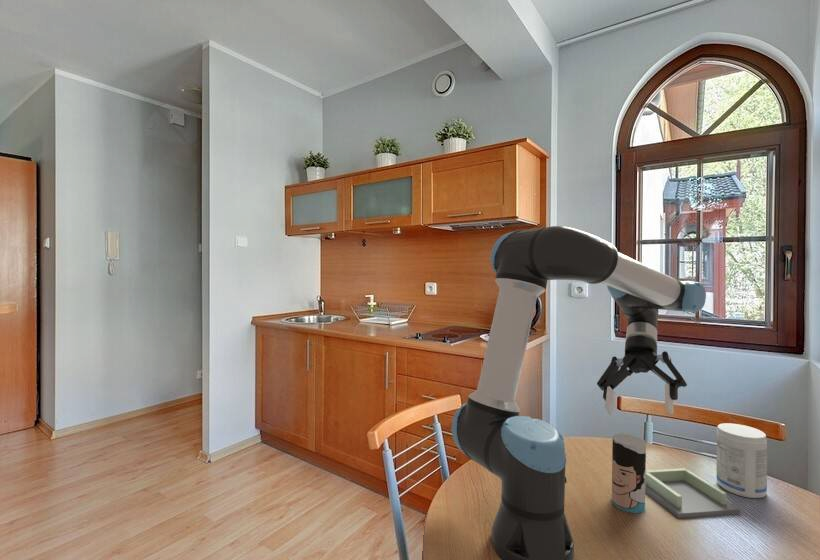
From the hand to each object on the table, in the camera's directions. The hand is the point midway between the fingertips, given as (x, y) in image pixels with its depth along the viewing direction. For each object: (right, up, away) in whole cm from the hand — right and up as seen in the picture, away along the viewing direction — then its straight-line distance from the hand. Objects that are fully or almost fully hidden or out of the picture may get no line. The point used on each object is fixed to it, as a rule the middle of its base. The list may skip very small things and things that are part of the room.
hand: (637, 411), depth 95 cm
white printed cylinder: (-5, -20, -5) cm, 21 cm away
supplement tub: (+27, -20, +2) cm, 33 cm away
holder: (+10, -20, -1) cm, 22 cm away
